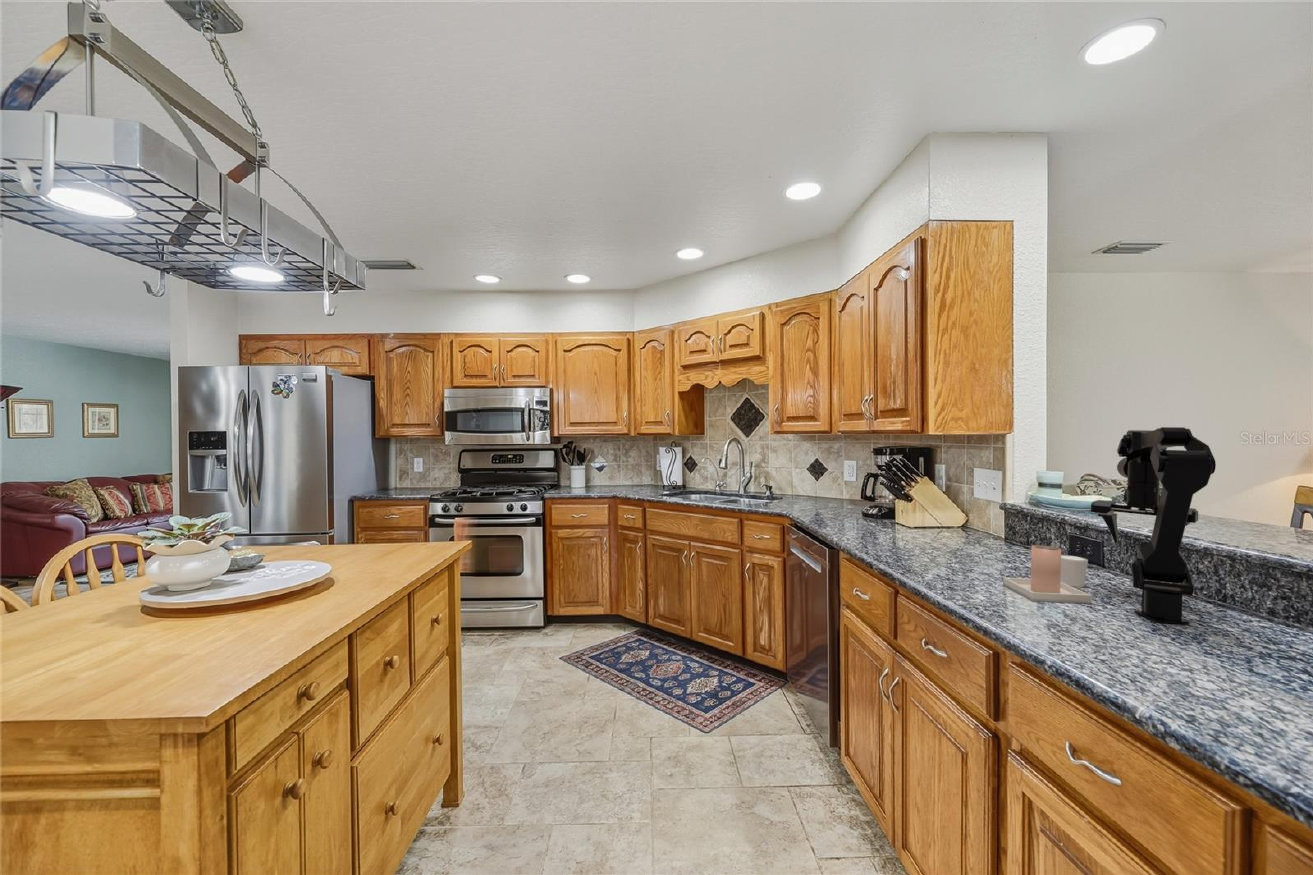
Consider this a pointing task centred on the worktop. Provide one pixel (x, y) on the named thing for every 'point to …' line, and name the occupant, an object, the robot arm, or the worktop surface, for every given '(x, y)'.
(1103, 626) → the worktop surface
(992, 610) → the worktop surface
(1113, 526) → the robot arm
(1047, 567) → the deep cup
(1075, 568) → the white short cylinder
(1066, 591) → the tray
